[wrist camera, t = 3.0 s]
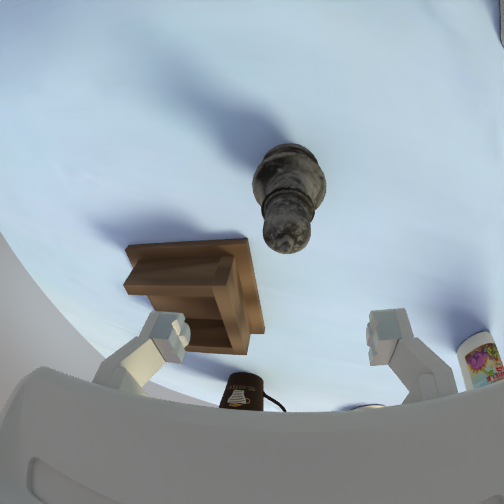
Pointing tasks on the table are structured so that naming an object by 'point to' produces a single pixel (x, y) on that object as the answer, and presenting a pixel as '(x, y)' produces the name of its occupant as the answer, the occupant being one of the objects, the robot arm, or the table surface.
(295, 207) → the grey chess piece
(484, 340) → the milk bottle
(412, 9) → the table surface
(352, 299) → the table surface
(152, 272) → the u-rest
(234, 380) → the coffee mug
